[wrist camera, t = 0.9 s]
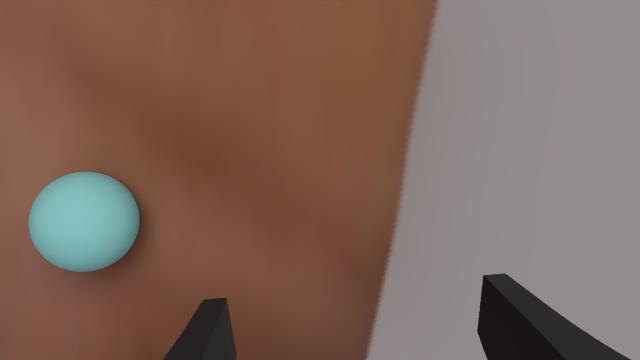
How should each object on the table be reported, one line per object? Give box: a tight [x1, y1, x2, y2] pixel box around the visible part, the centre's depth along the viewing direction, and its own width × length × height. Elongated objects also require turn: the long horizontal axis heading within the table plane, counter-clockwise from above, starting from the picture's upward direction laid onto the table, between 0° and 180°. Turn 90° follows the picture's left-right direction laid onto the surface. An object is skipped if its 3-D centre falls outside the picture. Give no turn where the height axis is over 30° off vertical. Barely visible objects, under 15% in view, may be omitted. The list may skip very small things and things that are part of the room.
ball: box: [29, 172, 140, 272], centre depth 19 cm, size 4×4×4 cm
